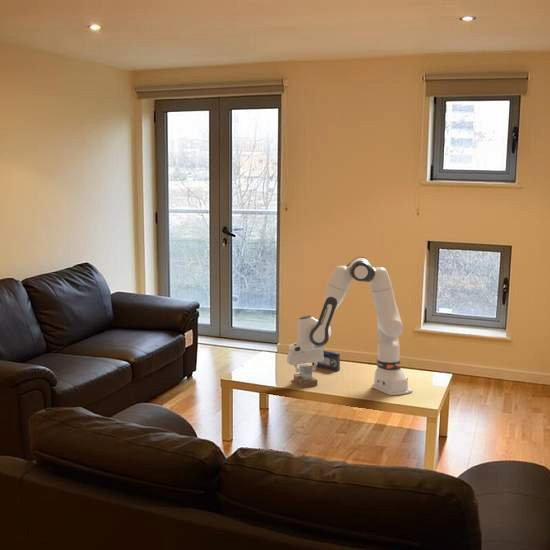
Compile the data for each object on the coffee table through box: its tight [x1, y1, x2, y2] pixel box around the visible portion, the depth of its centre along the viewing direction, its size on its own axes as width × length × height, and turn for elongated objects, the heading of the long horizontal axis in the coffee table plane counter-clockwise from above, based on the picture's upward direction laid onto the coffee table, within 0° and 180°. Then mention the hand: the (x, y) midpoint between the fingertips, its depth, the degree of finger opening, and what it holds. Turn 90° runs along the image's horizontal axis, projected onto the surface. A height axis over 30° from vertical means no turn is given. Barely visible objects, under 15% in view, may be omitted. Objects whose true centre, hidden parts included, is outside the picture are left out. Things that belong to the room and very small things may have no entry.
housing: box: [299, 363, 313, 380], centre depth 364 cm, size 4×8×6 cm, turn 19°
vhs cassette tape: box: [311, 350, 341, 372], centre depth 391 cm, size 18×3×10 cm, turn 48°
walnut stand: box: [293, 373, 318, 388], centre depth 364 cm, size 14×8×3 cm, turn 20°
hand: (305, 370), depth 364 cm, fingers open, 8 cm apart
